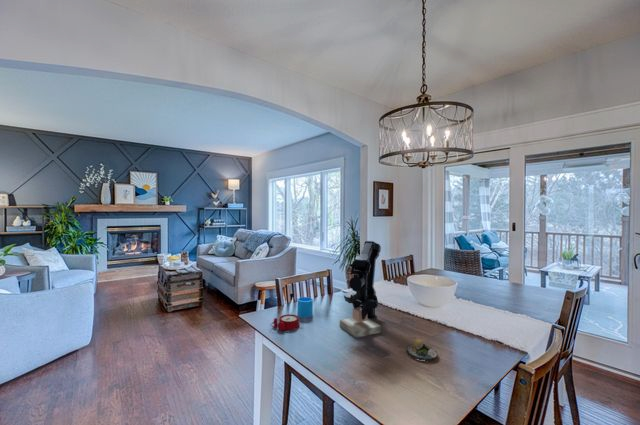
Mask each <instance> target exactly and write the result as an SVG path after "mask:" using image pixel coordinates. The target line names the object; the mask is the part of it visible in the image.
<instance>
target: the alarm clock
mask: <svg viewBox="0 0 640 425" xmlns="http://www.w3.org/2000/svg"><path fill="white" fill-rule="evenodd" d="M299 321H300V322H301V321H302V319H299V316H298V315H296V314H284V315H280V317H279V322H278V318H277V317H274V319H273V321H272V323H270V326H271V327H272V328H276V329H278V330H279V331H281V332H284V331H292V330H293V331H294V330H296V329H299V327H300V326H301V325H300V322H299Z"/></svg>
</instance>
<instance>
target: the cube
mask: <svg viewBox="0 0 640 425" xmlns="http://www.w3.org/2000/svg"><path fill="white" fill-rule="evenodd" d="M352 318H353V319H354V320H356V321H358V322H363V321H367V318H368V314H367V316H366V317H365V319H364V320H363V319H362V309H361V308H360V307H357V308H354V307H353V308H352Z"/></svg>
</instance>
